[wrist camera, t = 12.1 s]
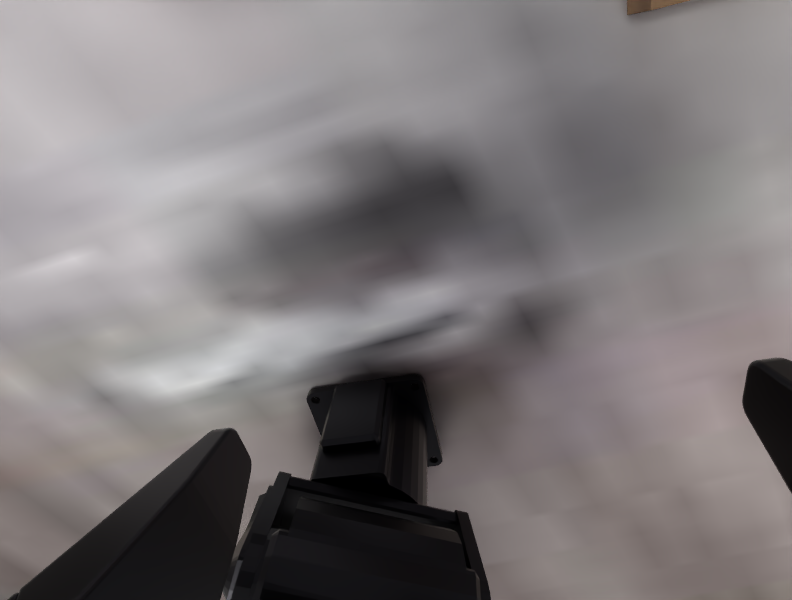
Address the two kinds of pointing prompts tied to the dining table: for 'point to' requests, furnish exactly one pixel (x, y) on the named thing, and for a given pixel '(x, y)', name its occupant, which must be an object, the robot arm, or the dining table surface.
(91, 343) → the dining table surface
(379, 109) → the dining table surface
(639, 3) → the tower base
